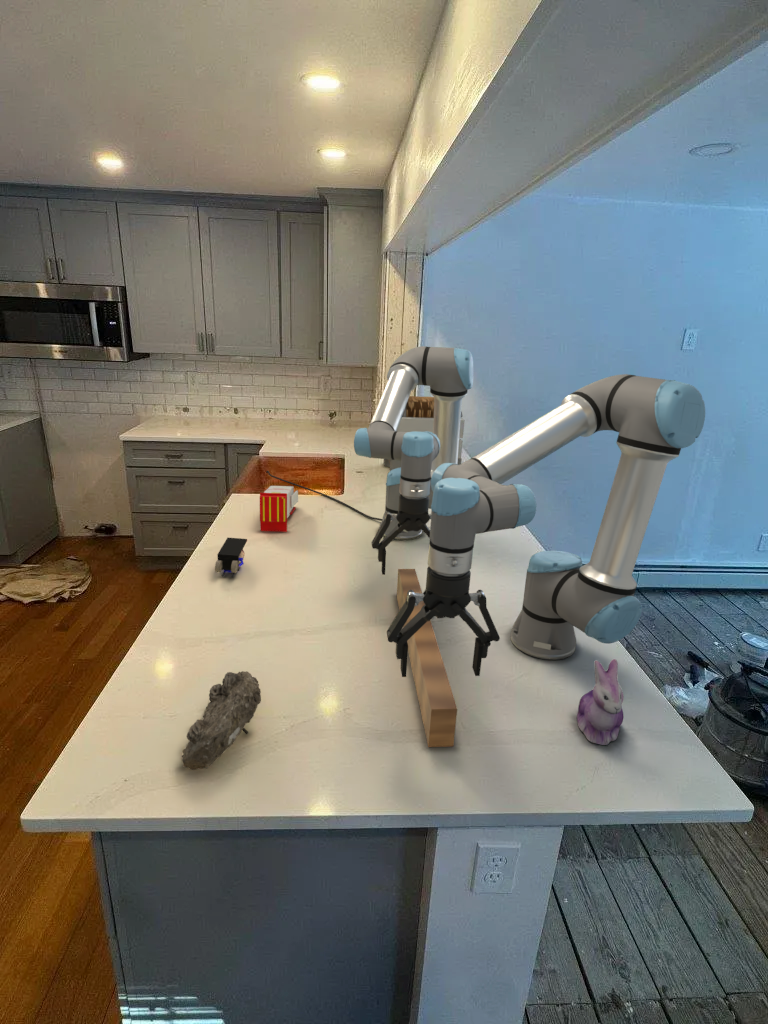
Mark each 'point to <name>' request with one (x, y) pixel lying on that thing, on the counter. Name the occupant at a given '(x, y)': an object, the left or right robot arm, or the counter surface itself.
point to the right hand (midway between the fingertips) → (439, 672)
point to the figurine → (602, 706)
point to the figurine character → (230, 556)
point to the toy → (277, 507)
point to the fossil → (222, 719)
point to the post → (428, 672)
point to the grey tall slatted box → (420, 423)
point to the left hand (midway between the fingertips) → (409, 572)
